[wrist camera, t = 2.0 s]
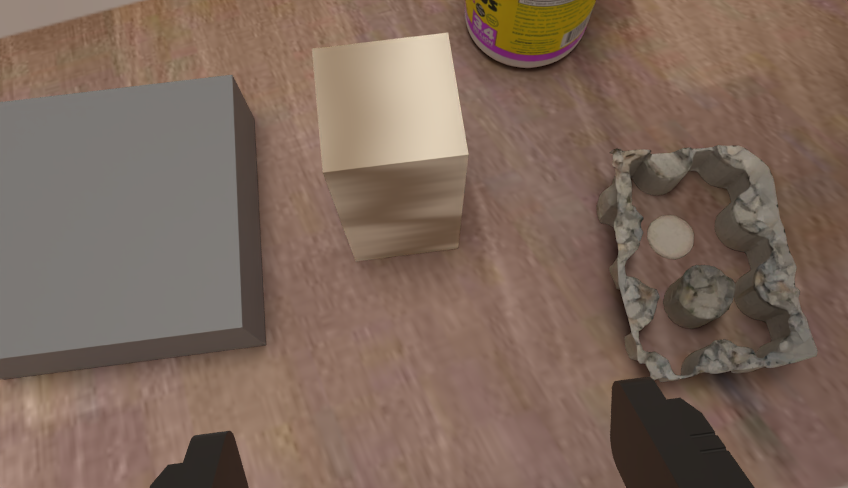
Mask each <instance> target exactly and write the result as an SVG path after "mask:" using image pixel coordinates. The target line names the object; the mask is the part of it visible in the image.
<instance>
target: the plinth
mask: <svg viewBox="0 0 848 488" xmlns="http://www.w3.org/2000/svg"><path fill="white" fill-rule="evenodd" d="M263 345H266V336H265V317H264V297H263V278H262V258H261V239H260V219H259V200H258V180H257V161H256V141H255V122H254V117H253V115H252V113H251V111H250V109H249V107H248V105H247V103H246V101H245V99H244V97H243V95H242V93H241V91H240V89H239V87H238V85H237V83H236V81H235V79H234V77H233V75H226V76H218V77H209V78H201V79H192V80H184V81H175V82H167V83H159V84H150V85H142V86H133V87H125V88H116V89H108V90H99V91H91V92H82V93H74V94H66V95H57V96H49V97H40V98H32V99H23V100H15V101H6V102H0V379H11V378H18V377H26V376H34V375H41V374H49V373H57V372H64V371H72V370H80V369H87V368H95V367H102V366H110V365H118V364H125V363H133V362H141V361H148V360H156V359H164V358H171V357H179V356H187V355H194V354H202V353H210V352H217V351H225V350H233V349H240V348H248V347H256V346H263Z"/></svg>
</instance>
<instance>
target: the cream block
mask: <svg viewBox="0 0 848 488" xmlns="http://www.w3.org/2000/svg"><path fill="white" fill-rule="evenodd" d="M312 55H313V67H314V78H315V90H316V101H317V113H318V124H319V136H320V147H321V159H322V170H323V175H324V177H325V180H326V183H327V186H328V188H329V191H330V194H331V196H332V199H333V202H334V204H335V207H336V210H337V213H338V215H339V218H340V221H341V223H342V226H343V229H344V232H345V234H346V237H347V240H348V242H349V245H350V248H351V251H352V253H353V256H354V259H355V261H364V260H372V259H380V258H388V257H396V256H403V255H411V254H419V253H427V252H435V251H443V250H450V249H458V245H459V236H460V227H461V218H462V209H463V200H464V191H465V181H466V172H467V163H468V149H467V143H466V137H465V131H464V125H463V119H462V113H461V107H460V101H459V95H458V90H457V84H456V78H455V72H454V66H453V60H452V54H451V48H450V42H449V36H448V33H442V34H433V35H425V36H416V37H408V38H399V39H391V40H382V41H374V42H365V43H357V44H348V45H340V46H331V47H323V48H314V49H312Z"/></svg>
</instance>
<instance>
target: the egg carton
mask: <svg viewBox="0 0 848 488" xmlns="http://www.w3.org/2000/svg"><path fill="white" fill-rule="evenodd" d="M650 152H651V150H630V151H621V149H614V150H612V151H611V152H610V153H611V154H613V161H612V164H613V167H614V168H615V172H616V176H615V177H614V179H613V182H612V185H611V186H610V187H608V188H607V189H606V190H605V191H603V192H602V193H601V194H600V197H599V200H598V203H597V215H598V218H599V221H600V223H605V224H608V225H610V226H612V227H614V230H615V234H616V241H617V243H618V258H617V259H616V260H615V262H614V263H613V265H611V266H610V268H609V270H610V273H611V276H612V278H613V280H614V283H615V286H616V288H617V289H620V291H621V294H622V298H623V302H624V306H625V309H626V313H627V316H628V320H629V324H630V328H631V332H632V333H631V334H629V335H627V336H625V337H624V338H625V346H626V351H627V353H628V356H629V358H630V359H633V360H638V361H639V363H640V364H643V363H645V364H646V366H647V368H648V370H649V372H650V377H651V378H652V379H653V380H656V379H658V380H659V381H660V382H668V381H675V380H679V379H683V378H687V377H691V376H694V375H697V374H698V373H703V372H708V373H711V374H718V373H723V372H728V371H731V372H732V373H744V372H751V371H754V370H756V369H760V368H763V367H766V368H774V367H779V366H783V365H786V364H790V363H795V362H799V361H802V360H805V359H808V358H811V357H815V356H817V348H816V345H815V343H814V340H813V337H812V335H811V332H810V329H809V326H808V322H807V319H806V317H805V315H804V314H803V313H802V311H801V307H800V304H799V299H798V297H799V294H800V291H799V289H797V288H796V287H795V281H794V279H795V273H796V265H795V262H794V260H793V258H792V256H791V254H790V251H789V248H788V244H787V239H786V234H785V229H784V227H783V225H782V222H781V220H780V216H779V210H778V204H777V197H776V191H775V185H774V179H773V177H772V174H771V172H770V170H769V167H768V166H767V165H766V164H765V163H764V162H763V161H762V160H760V159H759V158H758V157H756V156H755V155H753V154H752V153H751V152H749V151H748V150H746V149H745V148H743V147H741V146H720V145H718V146H715V147H710V148H701V149H691V148H683V149H680V150H677V151H675V152H672V153H661V154H651V153H650ZM688 171H696V172H698V173H699V174H700V176H701V177H702V178H703V179H704V180H705V181H706V182H707V183H708V184H710V185H712V186H715V187H722V188H726V189H727V190H728V193H729V195H730V199H731V203H730V204H729V205H728V206H727V207H726V208H724V209H723V210H722V211H721V212H720V213H719V214H718V215H717V218H716V220H715V232H716V234H717V236H718V238H719V239H720V241H721V242H722V243H723V244H724V245H726V246H727V247H729V248H731V249H733V250H737V251H741V252H745V253H746V255H747V257H748V261H749V264H750V268H751V271H749V272H748V273H746V274H745V275H743V276H742V277H740V278H739V279H738V281H737V282H736V284H735V283H734V281H733V280H732V279H731V278H729V277H727V276H726V275H725V274H724V273H723V272H721V271H720V270H719V269H717V268H716V267H713V266H709V265H699V266H698V265H695V266H692V267H691V268H690V269H688V270H687V271H685V273H684V275H683V276H682V277H681V278H679V279H678V280H677V281H676V282H675V283H673V284H672V285H671V286H670V287H669V288H668V289H667V291H666V293H665V295H664V300H663V304H664V309H665V311H666V313H667V315H668V317H669V318H670V319H671V320H672V321H673V322H674V323H675V324H677V325H679V326H681V327H685V328H690V329H693V328H697V327H700V326H702V325H704V324H706V323H708V322H710V321H712V320H714V319H716V318H719V317H720V316H721V315H723V314H724V313H725V312H726V311H727V310H729V307H730V305H731V303H732V301H733V298H734V299H735V302H736V305H737V307H738V308H739V309H740V310H741V311H742V312H743V313H744V314H745V315H747V316H749V317H751V318H753V319H756V320H761V321H765V322H766V324H767V326H768V329H769V333H770V337H771V342H770V343H767V344H765V345H763V346H761V347H760V348H759V349H758V350H757V351H756V353H755V352H754V351H753V350H752V349H751V348H748V347H740V346H736V345H735V344H733V343H732V342H731V341H728V340H725V339H723V340H716V341H714V342H713V343H712V344H711V345H709V346H707V347H705V348H703V349H700V350H698V351H695V352H693V353H691V354H690V355H689V356H688V357H687V358H686V359H685V360H684V362H683V364H682V367H681V376H679V375H675V374H674V373H673V371H672V369H671V366H670V363H669V361H668V360H667V359H666V358H664V357H663V356H661V355H660V354H658V353H656V352H645V351H644V350H643V349H642V346H641V344H640V341H639V331H640V330H641V329H643V327H644V326H646V325H647V324H648V323H649V322H650V321H651V320H652V319H653V317H654V313H655V310H656V306H657V301H658V299H659V294H658V292H657V290H656V289H653V288H650V287H648V286H646V285H645V284H643V283H642V282H641V281H639V280H638V279H636V278H634V277H629V276H627V275H626V273H625V263H626V261H627V260H628V258H629V257H630V256H631V255H632V254H633V253H634V252H635V251H636V250H637V249H638V247H639V245H640V243H639V241H640V240H641V237H642V235H643V231H642V229H641V222H642V220H643V217H642V215H640V214H639V212H638V211H637V210H636V207H634V206H633V205H632V185H631V178H632V179H633V181H634V182H635V184H636V185H637V187H638V188H639V189H640V190H642V191H643V192H645V193H647V194H650V195H662V194H666V193H668V192H670V191H671V190H672V189H673V188H674V187H675V186H676V185H677V184H678V183H679V182H680V180H681V179H682V178H683V177H684V176H685V175H686V174H687V172H688ZM647 239H648V241H649V243H650V244H649V245H650V246H651V248H652V249H653V250H654V251H655V252H656V253H657V254H659V255H660V256H662V257H664V258H667V259H678V258H682V257H684V256H685V255H686V254H688V253H689V252H690V250H691V248H692V247H693V241H694V232H693V230H692V228H691V227H690V226H689V224H688V223H687V222H686V221H684V220H683V219H681V218H679V217H677V216H674V215H664V216H660V217H658V218H657V219H655V220H654V221H653V222H651V224H650V226H649V228H648V230H647Z"/></svg>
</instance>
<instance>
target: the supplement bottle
mask: <svg viewBox="0 0 848 488" xmlns="http://www.w3.org/2000/svg"><path fill="white" fill-rule="evenodd" d="M595 1H596V0H465V20H466V25H467V28H468V31H469V33H470V35H471V37H472V39H473V40H474V42H475V43H476V45H477V46H478V47H479V48H480V49H481V50H482V51H483V52H484V53H486V54H487V55H488V56H490V57H491V58H493V59H495V60H496V61H498V62H501V63H503V64H506V65H510V66H515V67H521V68H533V67H539V66H544V65H548V64H550V63H553V62H555V61H558V60H559V59H561V58H563V57H564V56H566V55H567V54H568V53H570V52H571V51H572V50H573V49H574V48H575V47H576V45H577V44H578V43H579V41H580V40H581V38H582V36H583V34H584V32H585V29H586V27H587V24H588V21H589V19H590V16H591V13H592V10H593V8H594V4H595Z"/></svg>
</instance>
